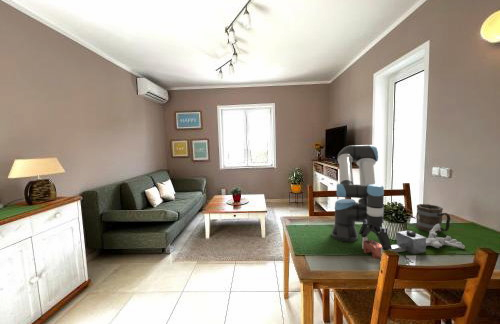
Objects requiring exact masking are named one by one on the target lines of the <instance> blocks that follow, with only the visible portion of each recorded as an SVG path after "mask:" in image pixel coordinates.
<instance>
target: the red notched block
mask: <svg viewBox="0 0 500 324" xmlns="http://www.w3.org/2000/svg"><path fill="white" fill-rule="evenodd" d="M381 248H382V245H381V243H380V242H378V241H376V240H375V239H368V240H367V241H364V246H363V251H362V252H363V253H364V254H369V253H371V258H372V259H373V260H379V259H380V260H381Z"/></svg>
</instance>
